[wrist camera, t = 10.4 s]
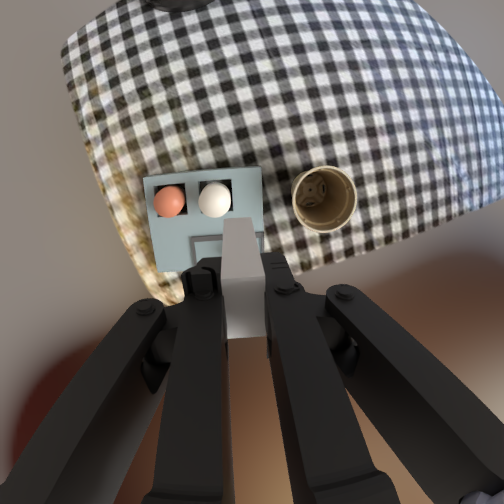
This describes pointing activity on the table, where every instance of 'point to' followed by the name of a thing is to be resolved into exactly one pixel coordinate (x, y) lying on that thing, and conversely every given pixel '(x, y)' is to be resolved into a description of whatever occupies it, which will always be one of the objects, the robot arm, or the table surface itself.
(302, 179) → the flower pot
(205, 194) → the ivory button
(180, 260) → the panel
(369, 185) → the table surface
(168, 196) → the salmon orange egg
